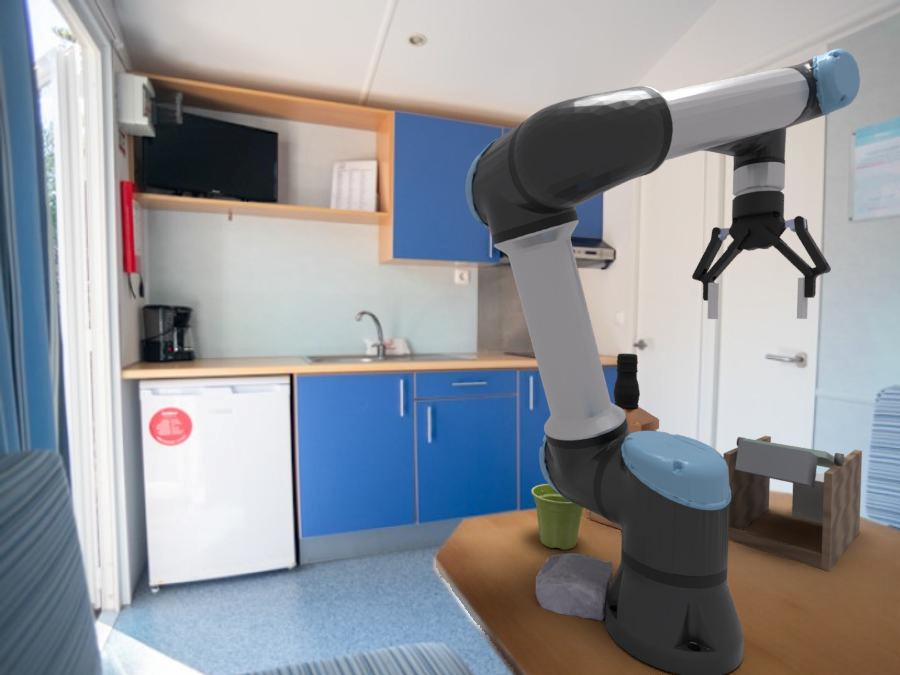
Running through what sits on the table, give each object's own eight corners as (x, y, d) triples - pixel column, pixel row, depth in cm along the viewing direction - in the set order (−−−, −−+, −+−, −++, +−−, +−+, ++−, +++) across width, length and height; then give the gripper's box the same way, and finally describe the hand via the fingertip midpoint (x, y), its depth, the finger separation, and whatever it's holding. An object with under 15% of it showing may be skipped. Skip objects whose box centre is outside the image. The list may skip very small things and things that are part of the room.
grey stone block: (839, 477, 96) (837, 517, 96) (802, 470, 100) (801, 508, 101) (830, 483, 92) (829, 525, 92) (793, 475, 97) (791, 515, 97)
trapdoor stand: (829, 571, 75) (832, 461, 74) (721, 537, 86) (723, 442, 86) (859, 532, 89) (862, 440, 89) (763, 507, 101) (765, 426, 100)
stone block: (533, 622, 64) (611, 625, 61) (526, 585, 65) (604, 585, 61) (550, 582, 75) (617, 582, 72) (544, 550, 76) (611, 549, 72)
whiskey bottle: (613, 505, 101) (616, 351, 100) (661, 519, 94) (664, 354, 93) (586, 518, 94) (589, 353, 93) (636, 535, 87) (639, 356, 86)
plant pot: (558, 526, 90) (559, 480, 90) (598, 546, 82) (599, 495, 82) (519, 538, 85) (520, 489, 85) (558, 560, 77) (559, 506, 77)
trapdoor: (814, 485, 74) (818, 446, 75) (728, 467, 83) (733, 433, 84) (844, 498, 88) (847, 465, 89) (768, 482, 97) (772, 452, 98)
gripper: (856, 183, 76) (851, 318, 77) (692, 210, 95) (689, 319, 96) (845, 173, 71) (840, 318, 72) (674, 204, 90) (672, 318, 91)
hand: (754, 319), depth 84 cm, fingers open, 13 cm apart
